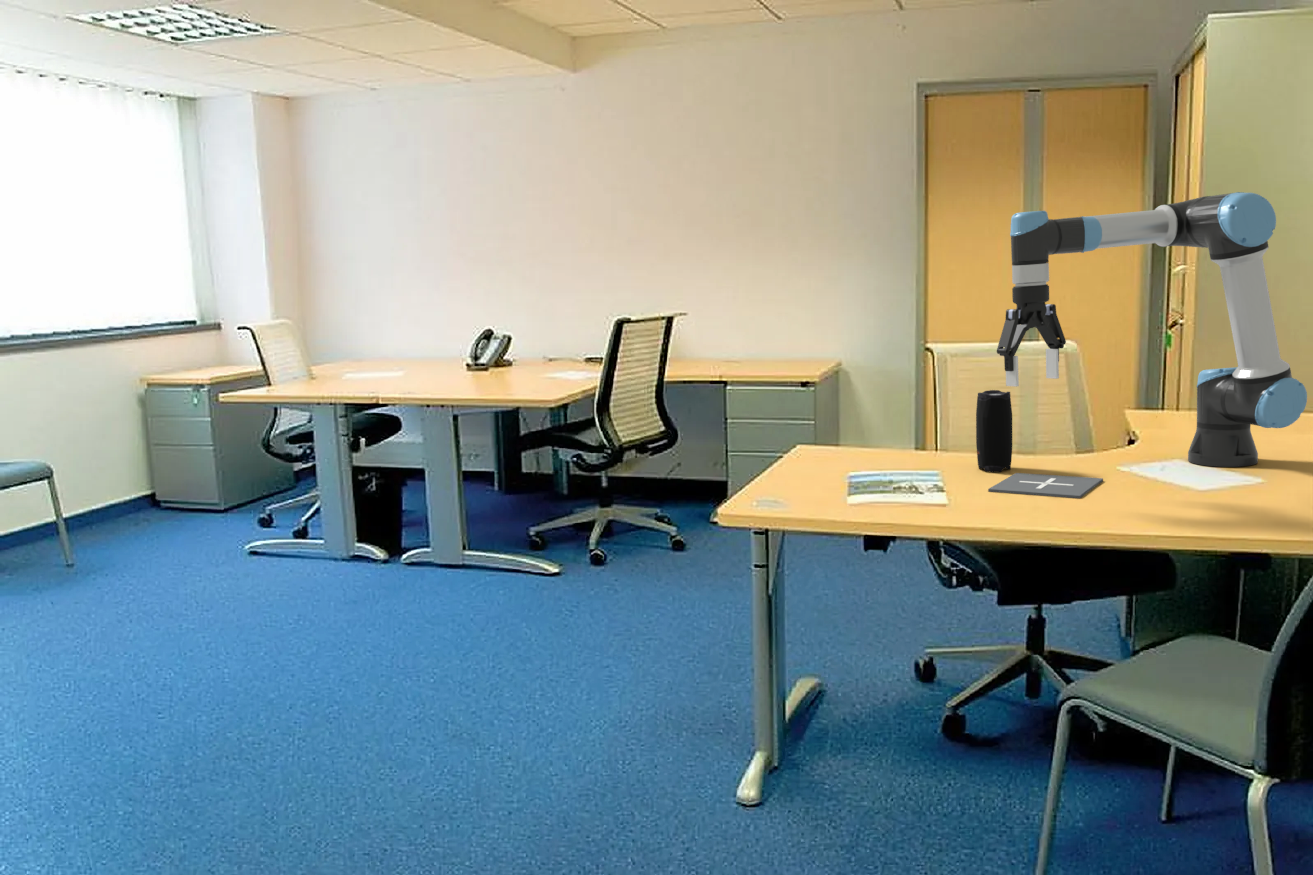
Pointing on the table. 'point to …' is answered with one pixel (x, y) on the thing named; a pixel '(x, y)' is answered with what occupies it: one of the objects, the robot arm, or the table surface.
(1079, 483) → the pad
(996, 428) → the portable speaker
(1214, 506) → the table surface
